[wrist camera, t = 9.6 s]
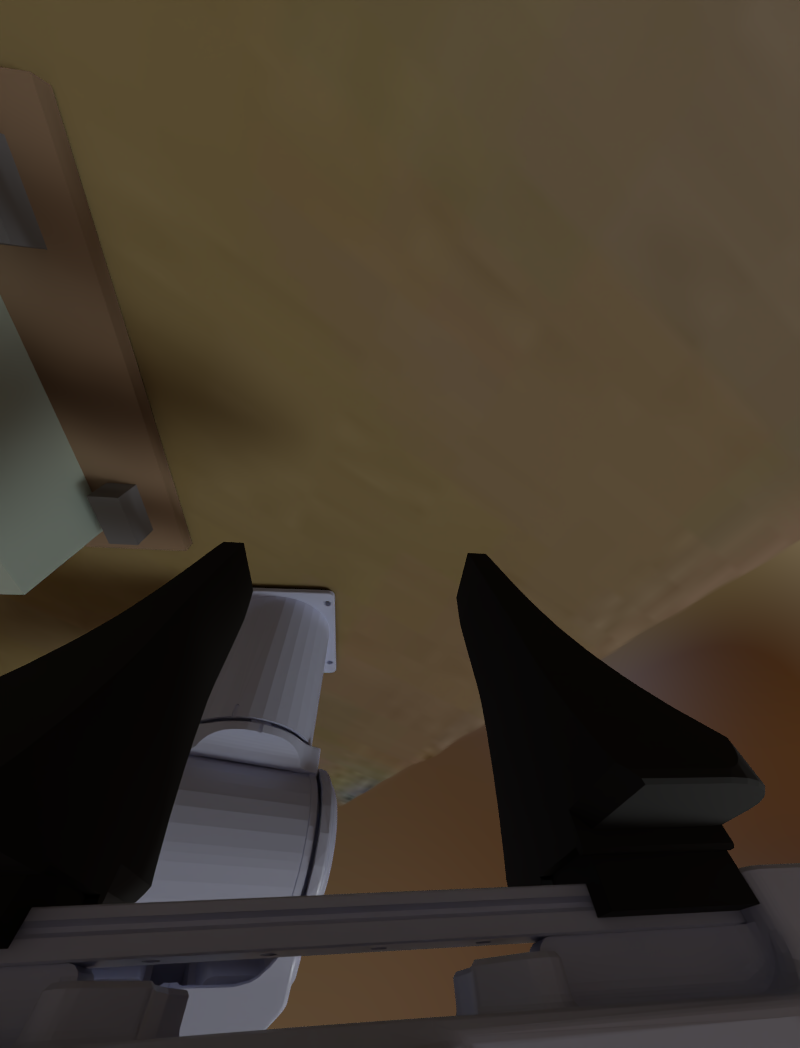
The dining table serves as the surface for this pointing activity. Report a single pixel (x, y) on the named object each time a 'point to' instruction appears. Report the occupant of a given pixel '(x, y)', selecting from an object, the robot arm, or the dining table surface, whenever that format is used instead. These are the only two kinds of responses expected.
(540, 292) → the dining table surface
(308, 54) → the dining table surface
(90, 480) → the cradle board
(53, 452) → the block
